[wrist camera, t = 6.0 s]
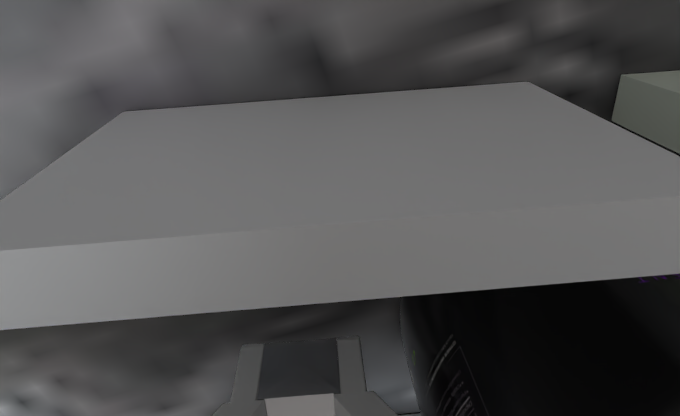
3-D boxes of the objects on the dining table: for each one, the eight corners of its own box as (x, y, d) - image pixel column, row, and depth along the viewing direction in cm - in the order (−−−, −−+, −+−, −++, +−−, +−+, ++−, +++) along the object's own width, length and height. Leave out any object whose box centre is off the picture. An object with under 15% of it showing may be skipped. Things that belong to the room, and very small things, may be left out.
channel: (123, 111, 9) (-78, 257, 5) (527, 81, 10) (749, 190, 5) (219, 452, 14) (172, 696, 10) (484, 428, 15) (570, 655, 10)
